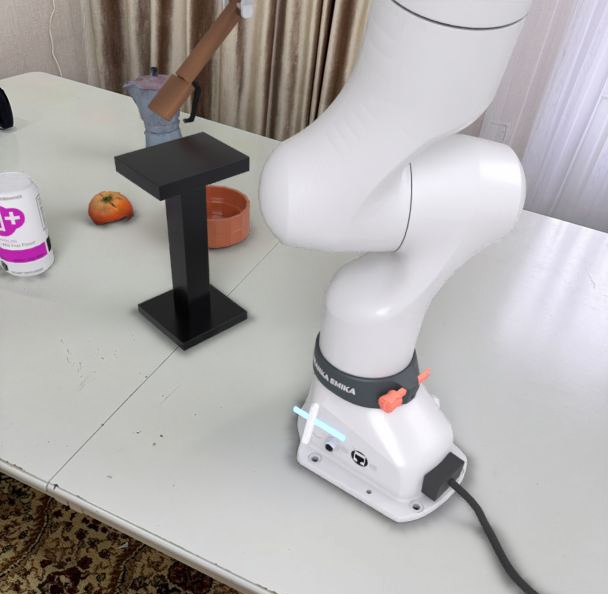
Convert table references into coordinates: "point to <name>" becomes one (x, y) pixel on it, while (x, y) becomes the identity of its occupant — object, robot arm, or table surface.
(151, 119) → the moka pot
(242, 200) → the bowl
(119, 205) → the tomato
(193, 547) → the table surface
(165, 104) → the wooden spatula
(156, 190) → the black plant stand
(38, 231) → the supplement can
